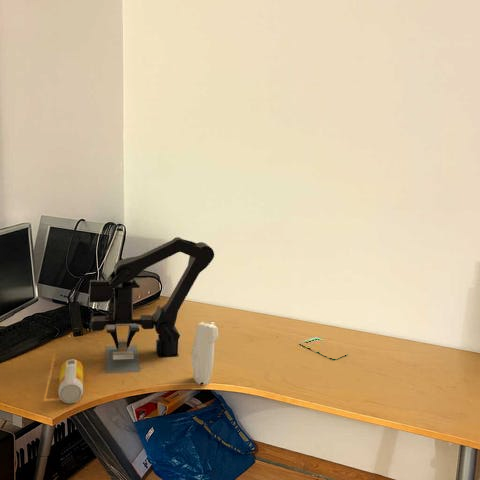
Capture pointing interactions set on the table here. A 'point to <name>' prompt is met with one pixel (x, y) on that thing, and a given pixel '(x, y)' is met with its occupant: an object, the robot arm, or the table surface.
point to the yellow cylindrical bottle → (71, 381)
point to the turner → (122, 351)
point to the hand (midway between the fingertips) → (122, 348)
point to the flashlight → (204, 351)
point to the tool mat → (122, 361)
